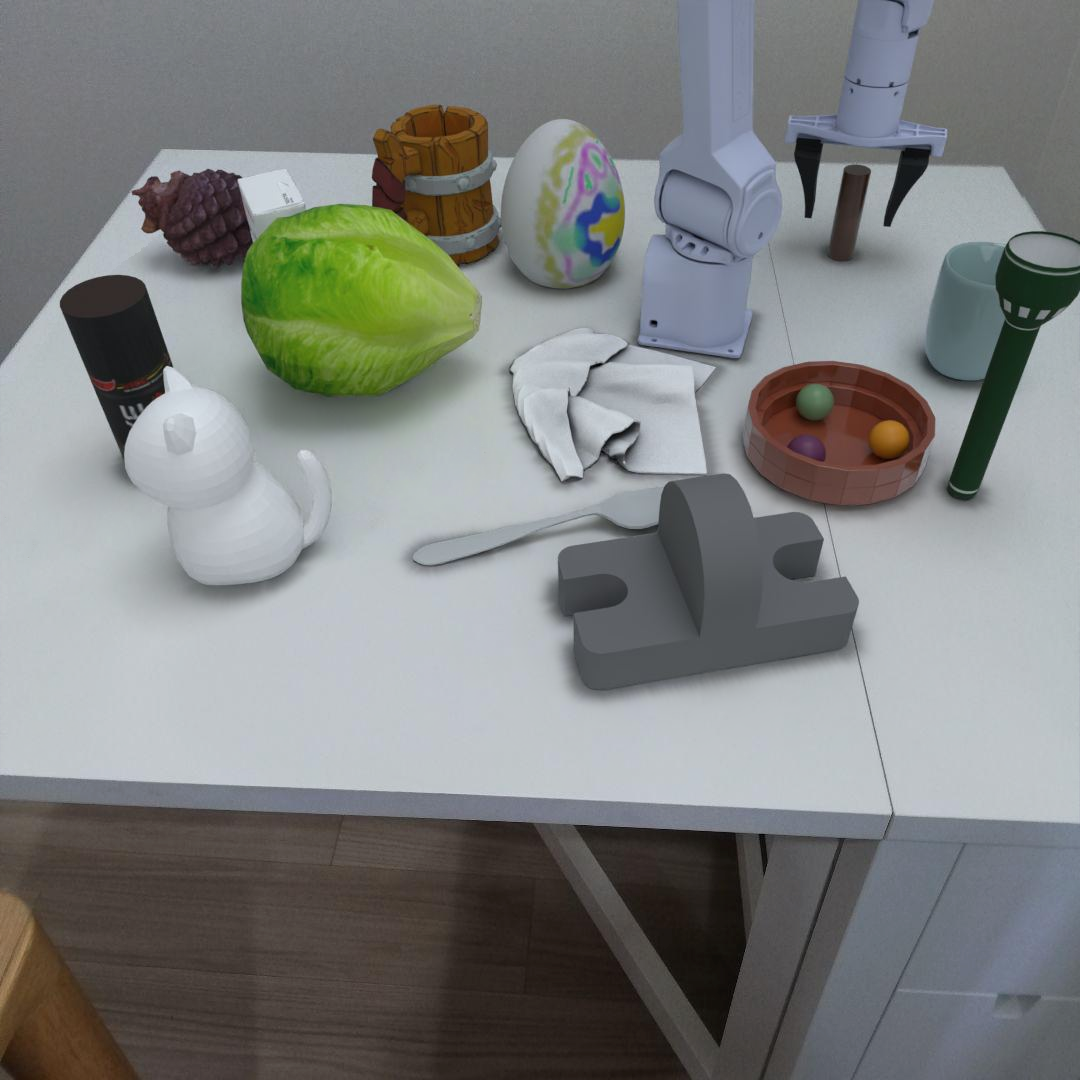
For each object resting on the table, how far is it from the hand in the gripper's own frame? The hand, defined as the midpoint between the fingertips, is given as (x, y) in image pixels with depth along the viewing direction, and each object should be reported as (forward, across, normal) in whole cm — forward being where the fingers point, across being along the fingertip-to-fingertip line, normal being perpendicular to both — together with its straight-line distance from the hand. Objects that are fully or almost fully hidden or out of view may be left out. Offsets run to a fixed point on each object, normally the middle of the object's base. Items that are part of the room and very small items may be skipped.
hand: (847, 218), depth 98 cm
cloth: (+4, +16, +32) cm, 36 cm away
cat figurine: (+4, +37, +56) cm, 67 cm away
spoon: (+4, +17, +48) cm, 51 cm away
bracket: (+4, +5, +53) cm, 53 cm away
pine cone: (+4, +62, +16) cm, 64 cm away
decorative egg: (+4, +27, +10) cm, 29 cm away
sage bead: (+2, 0, +30) cm, 30 cm away
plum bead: (+2, 0, +36) cm, 37 cm away
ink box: (+4, +51, +23) cm, 56 cm away
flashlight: (+4, -12, +35) cm, 37 cm away
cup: (+4, -12, +18) cm, 22 cm away
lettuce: (+4, +38, +33) cm, 50 cm away
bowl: (+4, -2, +33) cm, 33 cm away
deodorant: (+4, +50, +48) cm, 69 cm away
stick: (+4, 0, 0) cm, 4 cm away
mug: (+4, +41, +10) cm, 42 cm away
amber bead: (+2, -6, +33) cm, 34 cm away
